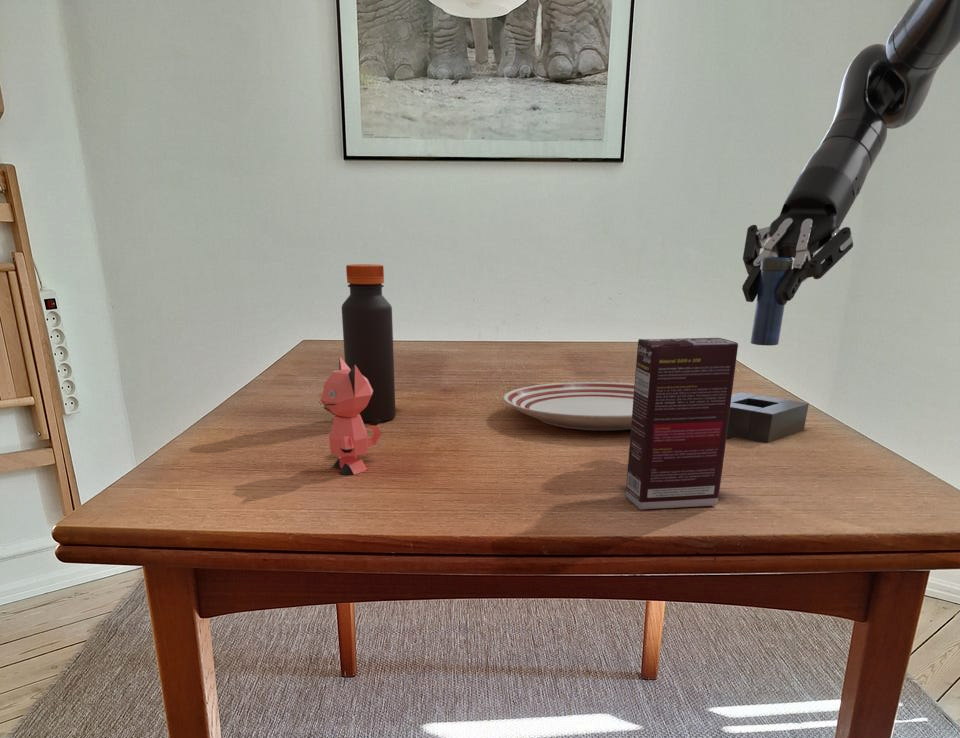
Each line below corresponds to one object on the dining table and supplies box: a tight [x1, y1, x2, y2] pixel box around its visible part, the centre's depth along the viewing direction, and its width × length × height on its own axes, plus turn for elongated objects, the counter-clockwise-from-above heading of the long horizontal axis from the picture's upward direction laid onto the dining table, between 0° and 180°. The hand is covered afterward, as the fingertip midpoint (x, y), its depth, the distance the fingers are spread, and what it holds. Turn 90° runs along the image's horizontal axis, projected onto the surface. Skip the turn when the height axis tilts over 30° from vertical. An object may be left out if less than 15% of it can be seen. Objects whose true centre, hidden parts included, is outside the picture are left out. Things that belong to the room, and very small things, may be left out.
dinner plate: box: [503, 381, 635, 432], centre depth 121 cm, size 27×27×3 cm
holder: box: [726, 391, 810, 444], centre depth 111 cm, size 10×10×4 cm
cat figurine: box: [318, 355, 383, 476], centre depth 94 cm, size 7×7×12 cm
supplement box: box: [625, 337, 739, 511], centre depth 83 cm, size 9×5×16 cm, turn 100°
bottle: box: [341, 263, 396, 424], centre depth 115 cm, size 7×7×20 cm
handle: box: [750, 257, 794, 347], centre depth 105 cm, size 4×4×10 cm
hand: (763, 298), depth 103 cm, fingers closed on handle, 3 cm apart
